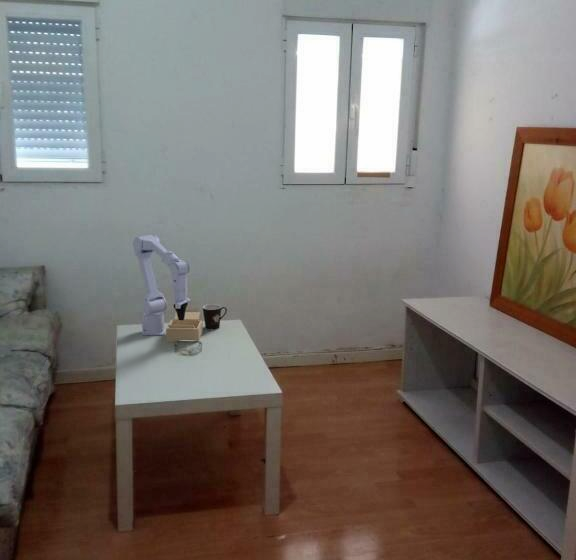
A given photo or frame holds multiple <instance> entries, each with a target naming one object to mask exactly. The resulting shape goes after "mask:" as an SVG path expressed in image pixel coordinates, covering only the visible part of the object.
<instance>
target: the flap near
mask: <svg viewBox="0 0 576 560" xmlns="http://www.w3.org/2000/svg"><path fill="white" fill-rule="evenodd" d="M167 326H168V327H169V328H195V327H194V325H168V324H167Z"/></svg>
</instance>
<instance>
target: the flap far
mask: <svg viewBox="0 0 576 560" xmlns="http://www.w3.org/2000/svg"><path fill="white" fill-rule="evenodd" d="M200 315H201V312H200V311H185V317H184V320H200ZM173 320H178V316H177V312H176V311H175V315H174V319H173Z"/></svg>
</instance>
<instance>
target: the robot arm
mask: <svg viewBox="0 0 576 560" xmlns="http://www.w3.org/2000/svg"><path fill="white" fill-rule="evenodd" d="M132 246H133V250H134V251H133V252H134V255H135V257H137V260H138V264H139V265H138V266H139V268H140V269H139V270H140V273H141V277H142V282H143V285H144V289H145V293H146V294H145V295H144V296H143V298H142V299H141V302H142V311H143V312H144V313H143V314H142V316H141V327H142V335H145V336H163V335H164V334H166V328H167V327H165V315H164V313H166V311H167V309H168V302H167V300H166V298H165V295H164V293H162V292H160V291H159V290H158V286H157V282H156V281H157V280H156V278H155V273H154V269H153V266H152V262H151V261H152V260H151V255H152V254H154V253H155V254H156V255H158V257H161V262H162V263H163V264H164V265H165V266H166V267H167V268H169V272H170V274H171V279H172V281H173V282H172V283H173V285H172V287H173V300H172V302H173V303H174V304H173V308H174V309H175V313H176V312H177V316H178V320H184V317H185V312H187V307H188V305H189V302H190V301H191V298H188V278H187V277H188V276H187V275H188V273H189V272H190V264H189V262H188V261H187V260H185V259H180V258H179V257H178V256H177V255H176V254H175V253H174V252H173V251H170V250H167V249H166V248H165V247H164V246H163V245H162V243H160V238H159V236H157V234H150V235H148V234H147V235H142V236H135V237H134V239H133V242H132Z"/></svg>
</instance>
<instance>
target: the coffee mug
mask: <svg viewBox="0 0 576 560" xmlns="http://www.w3.org/2000/svg"><path fill="white" fill-rule="evenodd" d="M223 309H225V312H224V313H223V315H221V313H222V310H223ZM202 311H203V320H204V325H205V329H206V328H207V329H206V330H208V329H213V330H212V331H214V329H216V330H219V329H220V326H221V320H222V319H223V318H224V317H225V315H226V314H227V312H228V309H227V307H224V306H221V305H220V304H217V303H213V304H210V303H209V304H205V305H203V306H202ZM218 328H219V329H218Z"/></svg>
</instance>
